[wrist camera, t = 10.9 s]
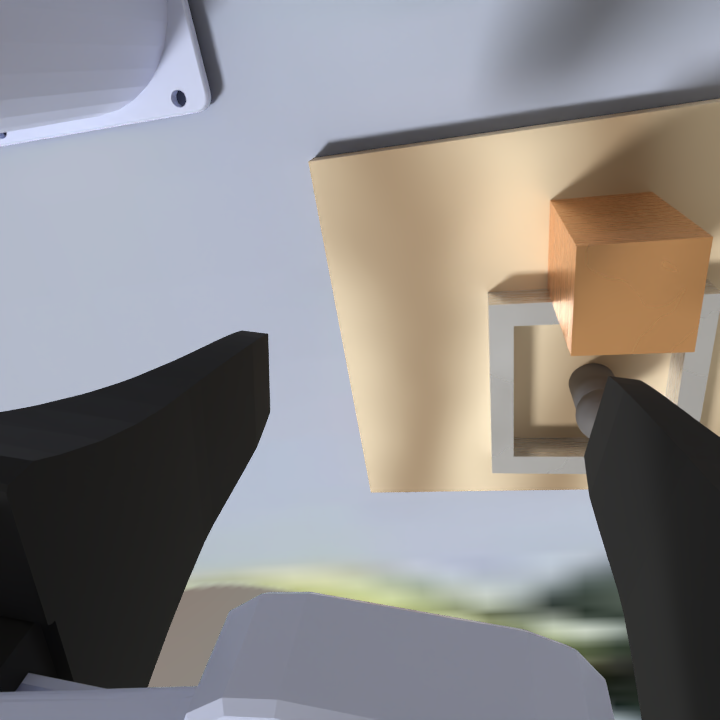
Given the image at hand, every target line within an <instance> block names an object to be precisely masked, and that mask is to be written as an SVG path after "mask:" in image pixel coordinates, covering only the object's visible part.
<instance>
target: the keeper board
mask: <svg viewBox="0 0 720 720" xmlns="http://www.w3.org/2000/svg"><path fill="white" fill-rule="evenodd" d="M309 167H310V173H311V178H312V183H313V188H314V194H315V199H316V204H317V210H318V215H319V220H320V225H321V231H322V236H323V241H324V247H325V252H326V257H327V262H328V268H329V273H330V278H331V284H332V289H333V294H334V299H335V305H336V310H337V315H338V321H339V326H340V331H341V336H342V342H343V347H344V352H345V357H346V363H347V368H348V373H349V379H350V384H351V389H352V394H353V400H354V405H355V410H356V416H357V421H358V426H359V431H360V437H361V442H362V447H363V453H364V458H365V463H366V468H367V474H368V479H369V484H370V490H371V492H436V491H504V490H571V489H588V483H587V477H586V474H514V473H492V463H491V433H490V386H489V340H488V293H487V292H498V291H517V290H535V289H547V284H548V249H549V215H550V200H558V199H570V198H582V197H593V196H605V195H617V194H629V193H641V192H653V193H654V194H656V195H657V196H659V197H660V198H661V199H663V200H664V201H665V202H667V203H668V204H669V205H671V206H672V207H673V208H675V209H676V210H678V211H679V212H680V213H682V214H683V215H684V216H686V217H687V218H688V219H690V220H691V221H692V222H694V223H695V224H696V225H698V226H699V227H701V228H702V229H703V230H705V231H706V232H707V233H709V234H710V235H711V236H713V241H712V248H711V254H710V260H709V266H708V272H707V278H706V280H709V281H710V282H711V283H712V284H713V285H714V286H715V287H716V288H717V289H719V290H720V98H719V99H712V100H705V101H699V102H692V103H685V104H678V105H671V106H665V107H658V108H651V109H644V110H637V111H630V112H624V113H617V114H610V115H603V116H596V117H590V118H583V119H576V120H569V121H562V122H555V123H549V124H542V125H535V126H528V127H521V128H515V129H508V130H501V131H494V132H487V133H480V134H474V135H467V136H460V137H453V138H446V139H440V140H433V141H426V142H419V143H412V144H405V145H399V146H392V147H385V148H378V149H371V150H365V151H358V152H351V153H344V154H337V155H330V156H324V157H317V158H313V159H312V160H310V161H309ZM670 359H671V353H653V354H622V355H591V356H571V355H570V352H569V349H568V347H567V344H566V341H565V338H564V335H563V332H562V329H561V326H560V324H554V325H531V326H514V438H590V434H591V431H592V428H593V425H594V421H595V418H596V415H597V412H598V408H599V405H600V402H601V398H602V395H603V392H604V389H605V385H606V382H607V379H608V376H613V377H621V378H629V379H637V380H641V381H643V382H644V383H646V384H648V385H649V386H651V387H652V388H654V389H655V390H657V391H658V392H659V393H661V394H662V395H664V396H665V394H666V387H667V380H668V373H669V366H670ZM700 423H701V424H703V425H704V426H705V427H707V428H708V429H710V430H711V431H712V432H714V433H715V434H716V435H718V436H719V437H720V312H719V318H718V323H717V329H716V334H715V340H714V346H713V351H712V357H711V363H710V368H709V374H708V380H707V385H706V391H705V396H704V402H703V408H702V413H701V419H700Z"/></svg>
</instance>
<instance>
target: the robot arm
mask: <svg viewBox="0 0 720 720" xmlns="http://www.w3.org/2000/svg"><path fill="white" fill-rule="evenodd" d="M179 90H180V91H182V92H183V93H184V94H185V96H186V104H185V106H181V105H180V104H179V103H178V101H177V99H176V94H177V92H178V91H179ZM210 102H211V92H210V88H209V84H208V80H207V76H206V72H205V68H204V64H203V60H202V56H201V52H200V48H199V44H198V40H197V36H196V32H195V28H194V24H193V20H192V16H191V12H190V8H189V4H188V0H0V147H1V146H7V145H12V144H18V143H24V142H30V141H36V140H41V139H47V138H53V137H59V136H65V135H70V134H76V133H82V132H88V131H94V130H99V129H105V128H111V127H117V126H123V125H128V124H134V123H140V122H146V121H152V120H157V119H163V118H169V117H175V116H181V115H186V114H192V113H198V112H202V111H204V110H206V109H207V108H208V107H209V105H210ZM4 132H7V135H6V136H5V135H4V134H3V133H4ZM269 414H270V390H269V351H268V334H265V333H257V332H249V331H239V332H236V333H233V334H231V335H228V336H226V337H224V338H221V339H219V340H217V341H215V342H213V343H211V344H209V345H207V346H205V347H202V348H200V349H198V350H196V351H194V352H192V353H190V354H188V355H185V356H183V357H181V358H179V359H177V360H175V361H172V362H170V363H168V364H165V365H163V366H161V367H158V368H156V369H153V370H151V371H149V372H146V373H144V374H142V375H139V376H137V377H134V378H131V379H129V380H126V381H123V382H120V383H117V384H115V385H111V386H108V387H105V388H102V389H99V390H96V391H92V392H89V393H85V394H82V395H78V396H74V397H70V398H65V399H61V400H57V401H53V402H49V403H45V404H41V405H37V406H32V407H26V408H21V409H16V410H10V411H5V412H0V720H614V715H613V711H612V707H611V702H610V698H609V693H608V689H607V684H606V680H605V679H604V678H603V677H602V676H601V675H600V674H599V673H598V672H597V671H596V670H595V668H594V667H593V666H592V665H591V664H590V663H589V662H588V661H587V660H586V659H585V658H584V657H583V656H582V655H581V654H580V653H579V652H578V651H577V650H576V649H574V648H572V647H570V646H568V645H565V644H562V643H560V642H557V641H554V640H551V639H549V638H546V637H543V636H540V635H538V634H535V633H532V632H529V631H527V630H524V629H518V628H512V627H507V626H501V625H495V624H490V623H484V622H478V621H473V620H467V619H461V618H456V617H450V616H444V615H439V614H433V613H427V612H421V611H416V610H410V609H404V608H399V607H393V606H387V605H382V604H376V603H370V602H365V601H359V600H353V599H348V598H342V597H336V596H331V595H325V594H319V593H313V592H269V593H263V594H260V595H258V596H256V597H255V598H253V599H251V600H249V601H247V602H245V603H243V604H242V605H240V606H238V607H236V608H234V609H232V610H230V611H229V613H228V616H227V618H226V621H225V623H224V625H223V627H222V630H221V632H220V635H219V637H218V639H217V642H216V644H215V646H214V649H213V651H212V654H211V656H210V658H209V660H208V663H207V665H206V668H205V670H204V672H203V675H202V677H201V679H200V682H199V684H198V686H184V687H183V686H181V687H149V688H147V687H148V684H149V681H150V679H151V676H152V673H153V670H154V668H155V665H156V662H157V660H158V657H159V654H160V651H161V649H162V646H163V643H164V641H165V638H166V635H167V632H168V630H169V627H170V625H171V622H172V619H173V617H174V614H175V612H176V610H177V607H178V604H179V602H180V600H181V597H182V594H183V592H184V590H185V587H186V585H187V582H188V580H189V577H190V575H191V573H192V570H193V568H194V566H195V563H196V561H197V558H198V556H199V554H200V551H201V549H202V547H203V544H204V542H205V540H206V538H207V536H208V534H209V532H210V530H211V528H212V526H213V524H214V522H215V521H216V519H217V517H218V515H219V514H220V512H221V510H222V508H223V507H224V505H225V503H226V501H227V500H228V498H229V496H230V494H231V493H232V491H233V489H234V487H235V486H236V484H237V482H238V480H239V479H240V477H241V475H242V473H243V471H244V470H245V468H246V466H247V464H248V462H249V461H250V459H251V457H252V455H253V453H254V451H255V450H256V448H257V445H258V443H259V440H260V438H261V435H262V433H263V430H264V427H265V425H266V422H267V419H268V416H269ZM584 460H585V468H586V477H587V483H588V490H589V496H590V500H591V503H592V507H593V510H594V514H595V517H596V521H597V524H598V527H599V531H600V534H601V537H602V540H603V544H604V547H605V550H606V553H607V557H608V560H609V563H610V566H611V570H612V573H613V576H614V579H615V583H616V586H617V589H618V593H619V597H620V601H621V605H622V608H623V612H624V618H625V623H626V628H627V634H628V639H629V645H630V650H631V656H632V661H633V667H634V674H635V680H636V686H637V693H638V699H639V705H640V711H641V718H642V720H720V437H719V436H718V435H716V434H715V433H714V432H712V431H711V430H710V429H708V428H707V427H705V426H704V425H703V424H701V423H700V422H699V421H697V420H696V419H695V418H693V417H692V416H691V415H689V414H688V413H687V412H685V411H684V410H682V409H681V408H680V407H678V406H677V405H676V404H674V403H673V402H672V401H670V400H669V399H668V398H666V397H665V396H664V395H662V394H661V393H659V392H658V391H657V390H655V389H654V388H652V387H651V386H649V385H648V384H646V383H644V382H643V381H641V380H637V379H629V378H621V377H613V376H608V379H607V382H606V385H605V389H604V392H603V395H602V398H601V402H600V405H599V408H598V412H597V415H596V418H595V421H594V425H593V428H592V431H591V434H590V438H589V441H588V444H587V448H586V451H585V454H584Z"/></svg>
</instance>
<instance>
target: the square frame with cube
mask: <svg viewBox="0 0 720 720" xmlns="http://www.w3.org/2000/svg"><path fill="white" fill-rule="evenodd" d="M712 241H713V236H711V235H710V234H709V233H707V232H706V231H705V230H703V229H702V228H701V227H699V226H698V225H696V224H695V223H694V222H692V221H691V220H690V219H688V218H687V217H686V216H684V215H683V214H682V213H680V212H679V211H678V210H676V209H675V208H673V207H672V206H671V205H669V204H668V203H667V202H665V201H664V200H663V199H661V198H660V197H659V196H657V195H656V194H654V193H653V192H641V193H629V194H617V195H605V196H593V197H582V198H570V199H558V200H550V215H549V249H548V284H547V289H535V290H517V291H498V292H487V293H488V340H489V386H490V433H491V463H492V473H514V474H586V468H585V460H584V454H585V451H586V448H587V444H588V441H589V438H514V326H531V325H554V324H560V326H561V329H562V332H563V335H564V338H565V341H566V344H567V347H568V349H569V352H570V355H571V356H591V355H622V354H653V353H671V359H670V366H669V373H668V380H667V387H666V394H665V397H666V398H668V399H669V400H670V401H672V402H673V403H674V404H676V405H677V406H678V407H680V408H681V409H682V410H684V411H685V412H687V413H688V414H689V415H691V416H692V417H693V418H695V419H696V420H697V421H699V422H700V419H701V413H702V408H703V402H704V396H705V391H706V385H707V380H708V374H709V368H710V363H711V357H712V351H713V346H714V340H715V334H716V329H717V323H718V318H719V312H720V290H719V289H717V288H716V287H715V286H714V285H713V284H712V283H711V282H710V281H709V280H706V278H707V272H708V266H709V260H710V254H711V248H712Z"/></svg>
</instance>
